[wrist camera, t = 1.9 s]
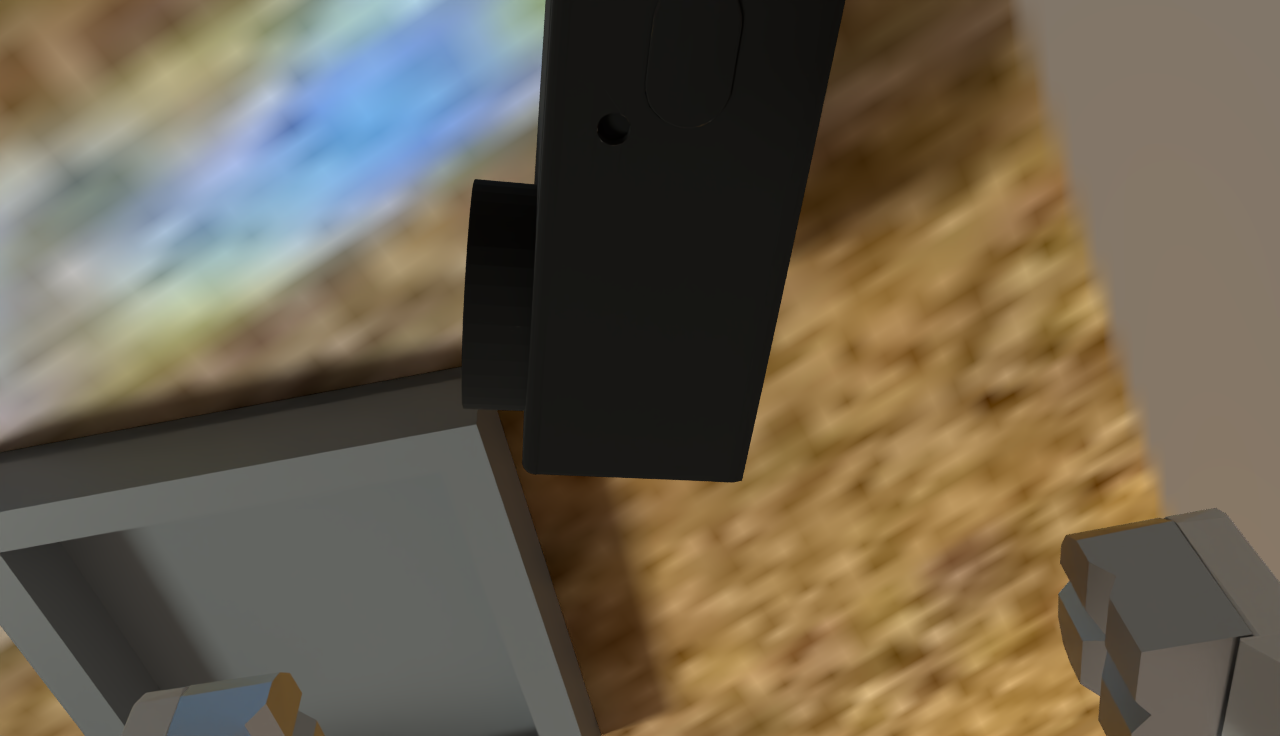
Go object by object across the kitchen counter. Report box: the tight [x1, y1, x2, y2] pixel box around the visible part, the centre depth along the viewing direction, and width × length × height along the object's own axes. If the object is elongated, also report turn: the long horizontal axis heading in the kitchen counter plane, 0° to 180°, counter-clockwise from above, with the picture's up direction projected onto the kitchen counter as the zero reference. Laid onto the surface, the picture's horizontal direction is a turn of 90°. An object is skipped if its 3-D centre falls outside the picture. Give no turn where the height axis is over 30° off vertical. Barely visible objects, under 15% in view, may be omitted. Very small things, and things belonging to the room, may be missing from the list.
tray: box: [0, 367, 601, 736], centre depth 31 cm, size 15×13×2 cm
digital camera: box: [461, 0, 845, 482], centre depth 21 cm, size 10×5×7 cm, turn 174°
